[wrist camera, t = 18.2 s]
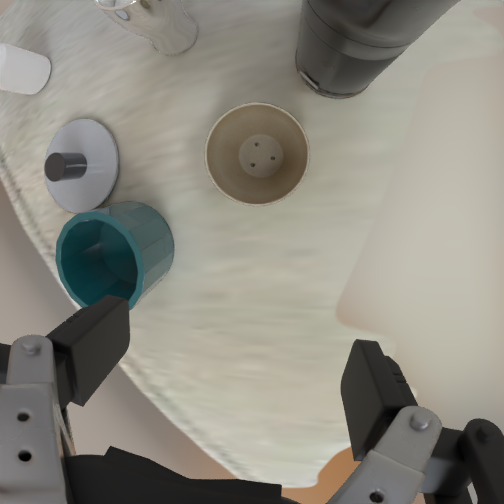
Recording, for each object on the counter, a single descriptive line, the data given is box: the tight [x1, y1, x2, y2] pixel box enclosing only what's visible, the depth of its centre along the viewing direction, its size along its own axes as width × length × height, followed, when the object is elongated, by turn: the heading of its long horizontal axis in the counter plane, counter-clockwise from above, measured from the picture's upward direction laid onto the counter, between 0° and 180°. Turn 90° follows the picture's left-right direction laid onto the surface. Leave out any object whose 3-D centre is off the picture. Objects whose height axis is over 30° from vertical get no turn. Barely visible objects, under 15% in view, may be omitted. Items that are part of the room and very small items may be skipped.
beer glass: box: [94, 0, 198, 55], centre depth 25 cm, size 7×7×15 cm
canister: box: [56, 201, 174, 310], centre depth 36 cm, size 12×12×10 cm
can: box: [0, 43, 51, 95], centre depth 29 cm, size 6×6×12 cm
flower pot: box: [204, 102, 310, 206], centre depth 33 cm, size 10×10×7 cm
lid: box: [44, 119, 119, 213], centre depth 35 cm, size 13×13×6 cm
